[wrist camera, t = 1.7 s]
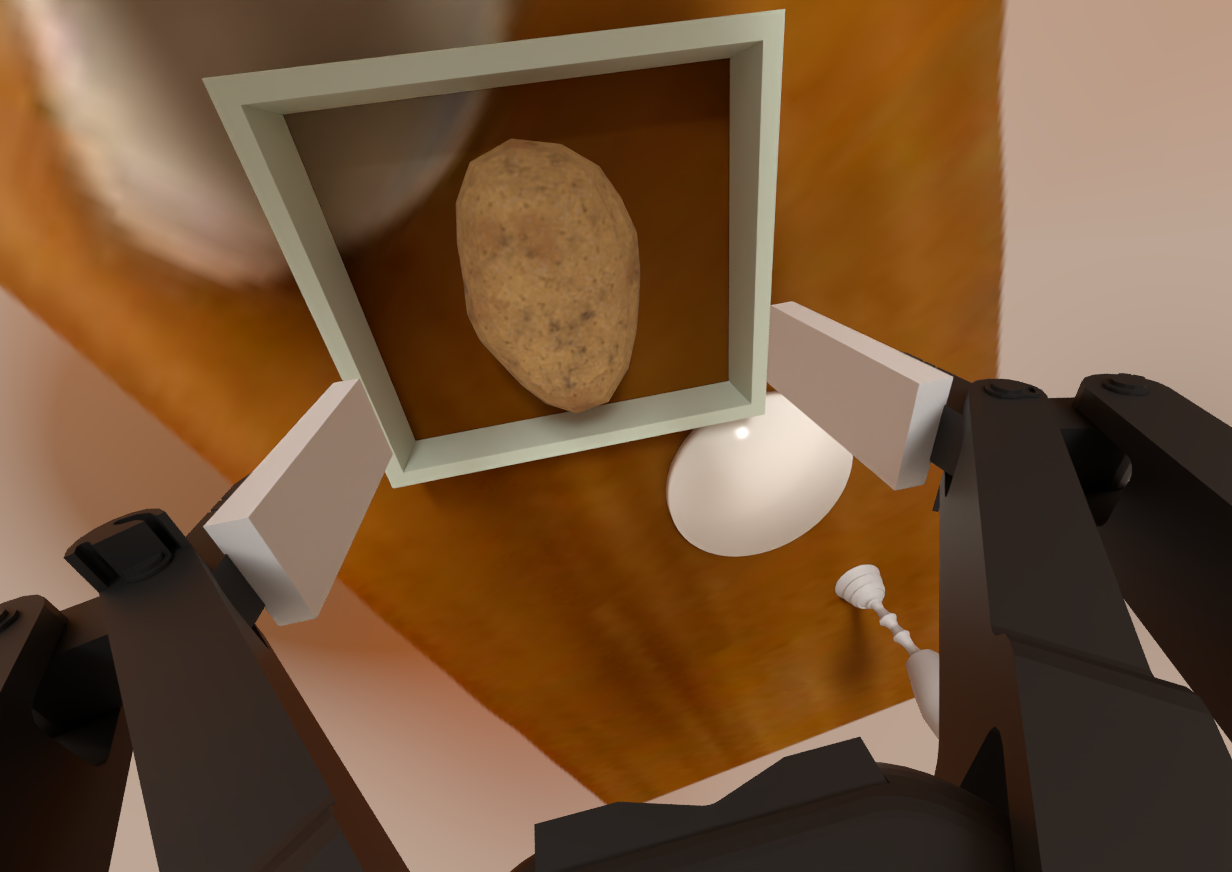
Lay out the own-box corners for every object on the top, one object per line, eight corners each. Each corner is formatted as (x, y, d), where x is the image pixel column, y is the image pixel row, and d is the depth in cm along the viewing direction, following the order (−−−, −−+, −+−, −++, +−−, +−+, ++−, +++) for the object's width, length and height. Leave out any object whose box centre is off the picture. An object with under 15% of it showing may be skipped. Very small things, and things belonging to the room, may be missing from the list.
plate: (658, 412, 35) (662, 419, 34) (856, 373, 36) (866, 379, 35) (671, 563, 43) (675, 572, 42) (832, 526, 44) (839, 535, 43)
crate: (250, 92, 22) (201, 77, 19) (748, 31, 24) (785, 8, 21) (406, 455, 33) (392, 488, 30) (741, 390, 35) (764, 414, 32)
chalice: (897, 578, 50) (1063, 757, 35) (845, 613, 52) (981, 800, 37) (870, 547, 47) (1040, 730, 32) (815, 585, 49) (951, 778, 33)
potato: (510, 394, 32) (508, 455, 25) (427, 164, 25) (391, 163, 18) (646, 359, 33) (678, 409, 26) (603, 122, 25) (633, 105, 18)
